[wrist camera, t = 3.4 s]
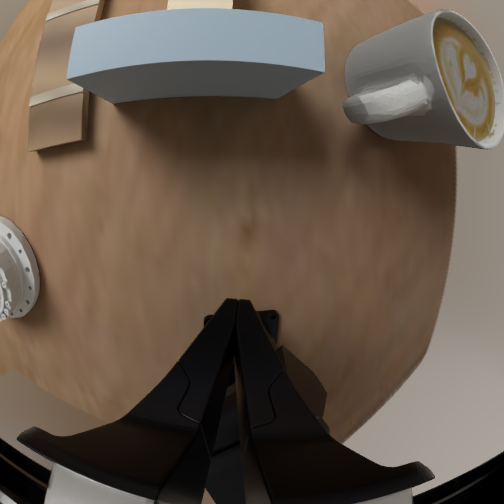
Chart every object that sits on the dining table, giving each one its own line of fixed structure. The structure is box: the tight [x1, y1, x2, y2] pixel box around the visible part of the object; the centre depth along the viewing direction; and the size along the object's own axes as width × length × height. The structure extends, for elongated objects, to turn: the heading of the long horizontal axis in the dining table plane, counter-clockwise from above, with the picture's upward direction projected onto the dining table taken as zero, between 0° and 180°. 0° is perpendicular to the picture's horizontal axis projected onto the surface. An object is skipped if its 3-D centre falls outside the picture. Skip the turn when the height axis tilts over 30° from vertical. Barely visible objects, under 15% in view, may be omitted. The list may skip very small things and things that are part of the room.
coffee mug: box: [343, 9, 504, 149], centre depth 14 cm, size 13×10×10 cm
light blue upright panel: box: [66, 0, 325, 104], centre depth 11 cm, size 12×12×8 cm
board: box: [28, 0, 105, 152], centre depth 12 cm, size 16×5×1 cm, turn 179°
